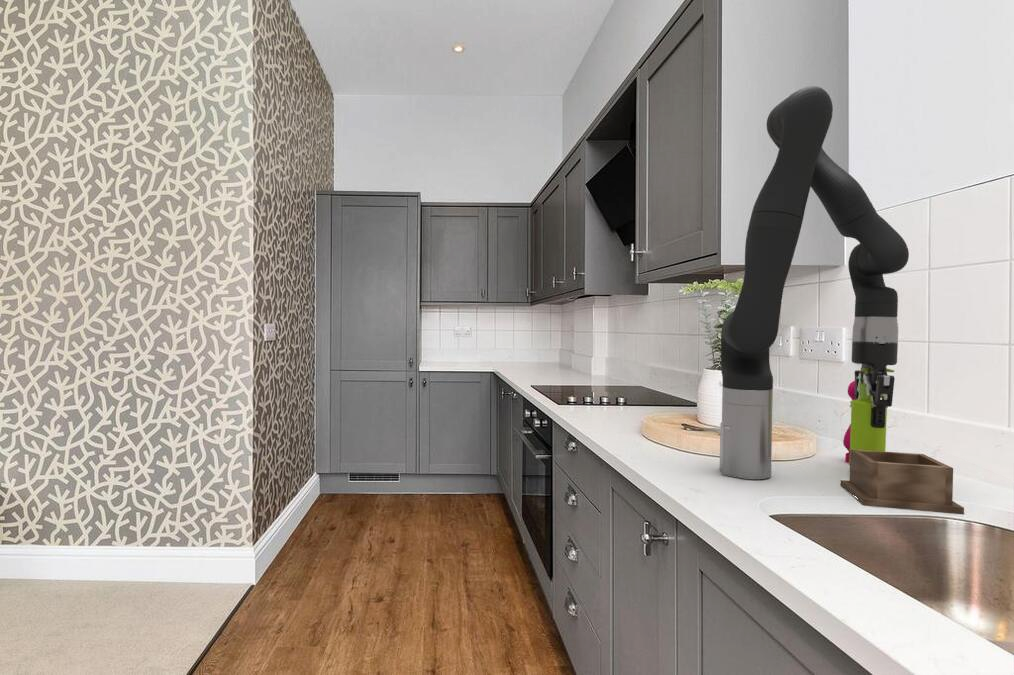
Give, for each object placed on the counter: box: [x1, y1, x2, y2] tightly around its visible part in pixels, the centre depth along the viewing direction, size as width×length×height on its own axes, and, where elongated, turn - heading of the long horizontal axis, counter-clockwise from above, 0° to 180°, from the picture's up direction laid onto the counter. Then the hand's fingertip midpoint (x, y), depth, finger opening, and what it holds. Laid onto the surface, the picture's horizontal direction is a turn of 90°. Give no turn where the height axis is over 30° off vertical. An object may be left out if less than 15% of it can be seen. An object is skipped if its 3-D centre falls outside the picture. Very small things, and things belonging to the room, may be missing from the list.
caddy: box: [840, 449, 965, 515], centre depth 94 cm, size 14×12×7 cm
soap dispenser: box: [848, 367, 895, 466], centre depth 108 cm, size 6×7×20 cm
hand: (871, 424), depth 108 cm, fingers closed on soap dispenser, 6 cm apart
